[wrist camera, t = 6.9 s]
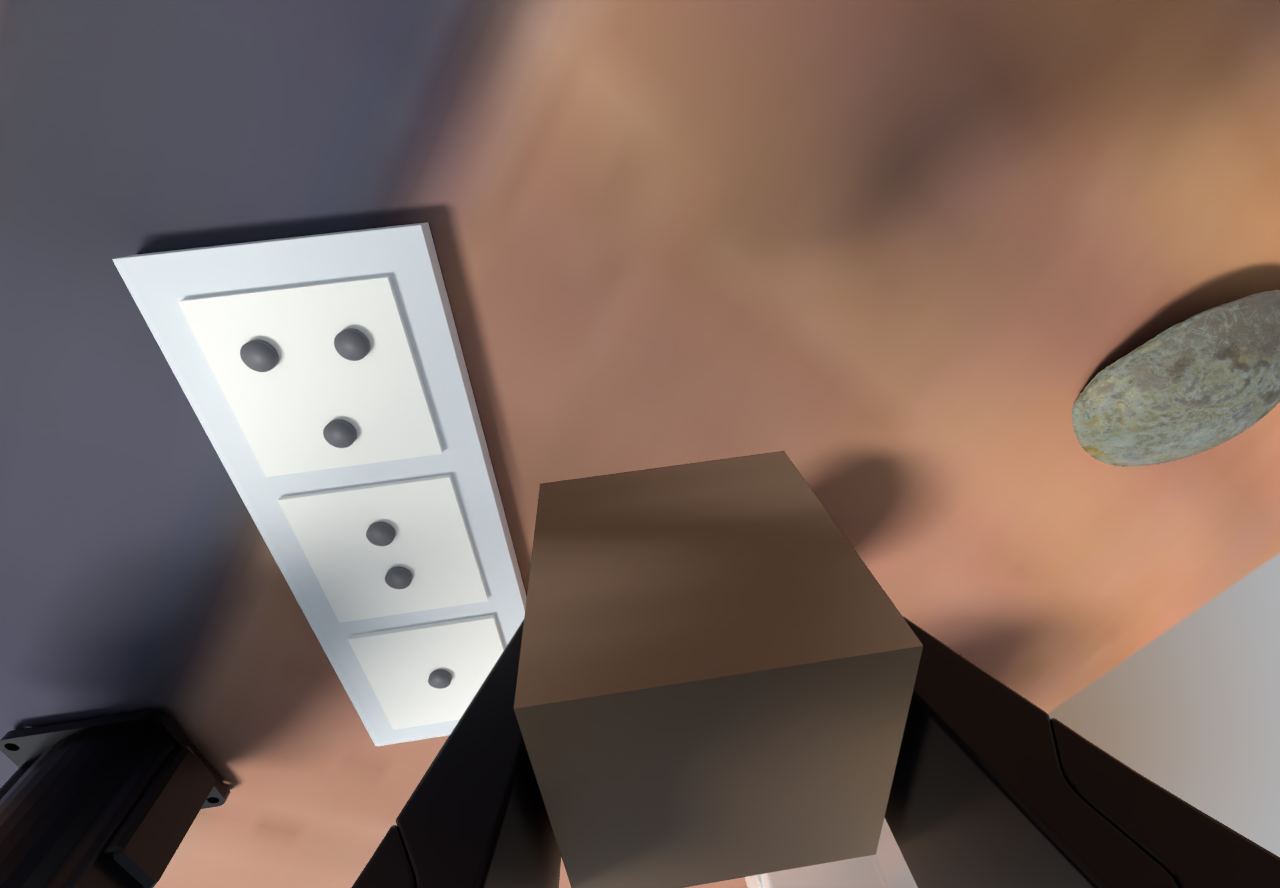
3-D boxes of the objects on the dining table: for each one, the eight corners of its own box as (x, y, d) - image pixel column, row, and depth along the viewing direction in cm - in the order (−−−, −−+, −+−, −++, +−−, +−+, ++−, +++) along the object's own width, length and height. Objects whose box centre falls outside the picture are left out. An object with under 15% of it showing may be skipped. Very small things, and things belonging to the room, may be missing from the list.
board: (381, 729, 25) (372, 755, 23) (134, 254, 15) (100, 261, 14) (554, 702, 25) (553, 726, 24) (428, 222, 15) (417, 226, 14)
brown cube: (577, 654, 10) (576, 905, 7) (540, 483, 9) (512, 709, 5) (776, 625, 11) (876, 854, 7) (783, 450, 9) (923, 645, 5)
